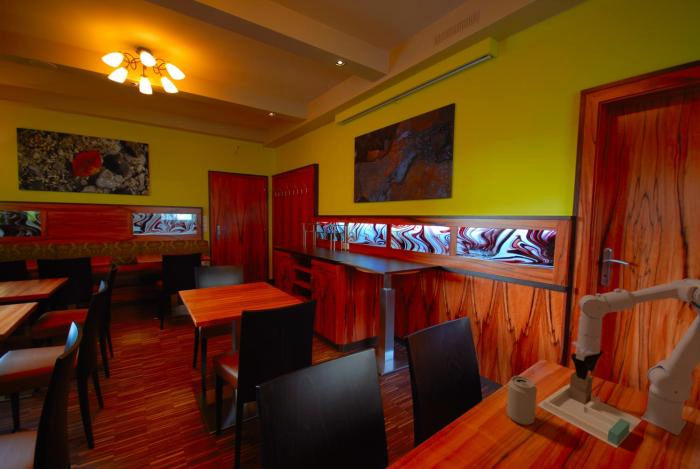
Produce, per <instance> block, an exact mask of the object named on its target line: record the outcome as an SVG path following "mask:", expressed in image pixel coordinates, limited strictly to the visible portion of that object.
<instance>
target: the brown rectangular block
mask: <svg viewBox="0 0 700 469" xmlns="http://www.w3.org/2000/svg"><path fill="white" fill-rule="evenodd" d="M593 380H594V377H593V376H591V375H588V374H587V377H586V379H585V380H583V379H581V378H578V377H577V374H576V371H574V372H572V373H571V375H570V382H569V384H570V391H569V398H572V399H574V400H576V401H578V402H580V403H582V404H584V405H585V404H586V403H587V402H589V401H590V400H591V397H592V391H593V390H592V389H593Z"/></svg>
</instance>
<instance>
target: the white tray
mask: <svg viewBox="0 0 700 469" xmlns="http://www.w3.org/2000/svg"><path fill="white" fill-rule="evenodd" d="M569 391H570V383H568V384H567V385H563V387H561V388H560V389H558V390H556V391H555V392H554V393H552V394H551V395H549V396H548V397H545V399H543V400H541V401H540V402H538V403H537V404H536V406H537V407H540V408H541V409H543V410H545V411H547V412H548V413H550V414H552V415H554V416H556V417H558V418H560V419H561V420H563V421H565V422H567V423H569V424H571V425H572V426H574V427H576V428H579V429H581V430H582V431H583V432H586V433H588V434H589V435H592V436H593V437H595V438H596V439H599V440H601V441H603V442H605V443H606V444H608V445H610V446H611V447H614V448H616V449H617V448H618V447H620V445H621V444H622V443H623V442H624V440H625V439H626V438H627V437H628V436H629V435H630V434H631V433H632V432H633V430H635V428H637V426H638V425H639V423H641V422H642V419H640V418H637V417H636V416H634V415H631V414H629V413H627V412H625V411H623V410H620V409H618V408H616V407H613V406H611V405H609V404H606V403H605V402H602V401H601V397H599V396H598V395H596V396H595V397H592V396H591V400H590V401H589V402H587V403H586V404H585V405H584V404H582V403H580V402H578V401H576V400H574V399H572V398H569Z"/></svg>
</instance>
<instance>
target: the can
mask: <svg viewBox="0 0 700 469" xmlns="http://www.w3.org/2000/svg"><path fill="white" fill-rule="evenodd" d="M535 384H536V383H535V382H534V381H533V380H532V379H530V378H528V377H525V376H522V375H514V376H512V377H511V379H510V380H509V381H508V387H507V388H508V389H507V399H506V404H507V405H506V414H507V416H509V419H511V420H512V421H513V422H515V423H517V424H519V425H524V426H528V425H531V424H534V422H535V419H536V406H537V404H536V403H537V393H538V390H537V386H536V385H535Z"/></svg>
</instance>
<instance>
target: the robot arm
mask: <svg viewBox="0 0 700 469" xmlns="http://www.w3.org/2000/svg"><path fill="white" fill-rule="evenodd" d="M667 299H675V300H678V301H683V302H687V303H690V305H691V306H692V307H693V310H694V311H695V313H696V314H697V316H695V318H694V320H693V322H692V323H690V325H689V327H688V329H687V330H686V331H685V333H684V334H683V336H682V337H681V338H680V340H679V342H678V343H677V344H676V346H675V348H673V350H672V352H671V353H670V354H669V355H668V357H667V359H664V360H660V361H658V362H657V364H656V365H655V366H653V367H650V368H649V369H648V370H647V374H646V375H647V379H648V380H649V381H650V382H651V383H650V386H649V389H648V390H649V391H648V399H647V406H646V412H645V413H643V415H642V416H641V417H640V418H641V420H644V421H646V422H648V423H651V424H653V425H655V426H658V427H660V428H662V429H664V430H666V431H667V432H668V433H670V434H673V435H674V436H679V435H680V433H681V432H682V431H683V429H684V427H685V426H686V425H687V421H685V420H684V419H683V413H684V408H685V406H684V405H685V402H686V401H688V400H689V398H690V396H691V389H692V387H693V385H694V381H693V380H694V379H693V375H692V373H693V372H694V370H695V369H696V368H697V366H698V365H699V364H700V278H696V277H688V278H684V279H675V280H673V281H670V282H667V283H666V282H665V283H662V284H658V285H655V286H651V287H647V288H642V289H638V290H635V291H628V290H627V289H620V288H615V289H613V291H610V292H605V293H595V295H592V294H586V295H583V296H582V297H581V298H580V299H579V300H578V301H577V303H578V307H579V309H580V312H579V315H580V316H579V319H578V329H577V341H573V342H572V346H574V347H575V348H576V352H575V353H574V352H573V353H572V354H570V358H571V360H572V362H573V364H574V368H575V372H576V374H577V377H578V378H581V379H583V380H585V379H586V377H587V375H588V373H589V372H592V373H593V372H594V371H595V369H596V366H597V363H598V361H599V359H600V357H601V356H602V355H603V354H604V351H603V350H602V349H600V347H601V337H602V327H603V317H605V315H606V314H610V313H614V312H621V311H625V310H632V309H634V308H635V307H636V306H637V304H640V303H649V302H654V301H661V300H667Z"/></svg>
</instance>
